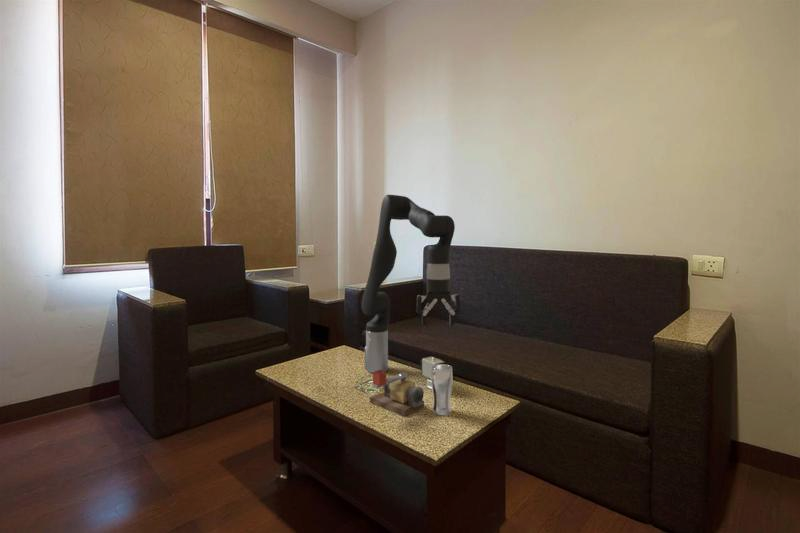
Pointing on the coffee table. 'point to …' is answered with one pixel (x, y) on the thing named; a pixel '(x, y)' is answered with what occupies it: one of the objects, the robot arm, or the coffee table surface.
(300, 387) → the coffee table surface
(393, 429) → the coffee table surface
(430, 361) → the pneumatic valve
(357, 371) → the coffee table surface
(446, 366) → the beer glass
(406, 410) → the valve pipe
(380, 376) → the valve lever
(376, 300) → the robot arm
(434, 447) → the coffee table surface
